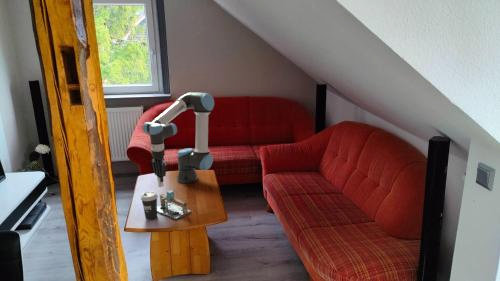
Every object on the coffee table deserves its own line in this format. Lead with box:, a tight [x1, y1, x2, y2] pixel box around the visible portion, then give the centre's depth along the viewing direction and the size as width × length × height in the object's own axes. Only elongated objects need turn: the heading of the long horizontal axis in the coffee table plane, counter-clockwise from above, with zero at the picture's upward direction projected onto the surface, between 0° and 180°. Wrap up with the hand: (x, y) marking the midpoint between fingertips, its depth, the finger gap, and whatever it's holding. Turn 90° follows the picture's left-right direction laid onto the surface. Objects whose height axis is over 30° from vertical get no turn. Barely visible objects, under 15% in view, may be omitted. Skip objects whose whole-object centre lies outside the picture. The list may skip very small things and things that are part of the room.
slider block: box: [165, 189, 175, 210], centre depth 224 cm, size 6×3×10 cm, turn 142°
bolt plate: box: [157, 202, 192, 221], centre depth 224 cm, size 12×22×1 cm, turn 52°
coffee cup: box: [140, 190, 158, 221], centre depth 214 cm, size 10×10×15 cm
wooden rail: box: [159, 193, 189, 214], centre depth 223 cm, size 5×22×6 cm, turn 52°
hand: (161, 186), depth 227 cm, fingers closed
